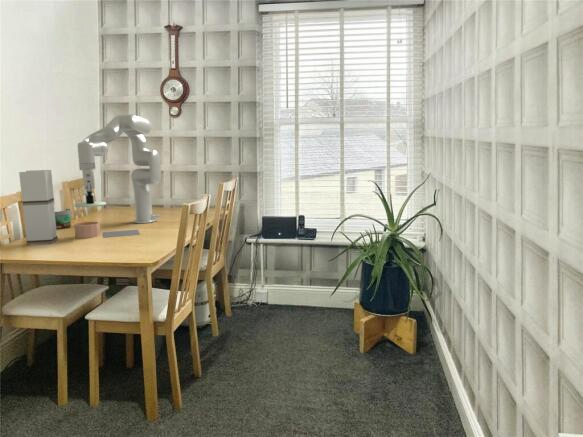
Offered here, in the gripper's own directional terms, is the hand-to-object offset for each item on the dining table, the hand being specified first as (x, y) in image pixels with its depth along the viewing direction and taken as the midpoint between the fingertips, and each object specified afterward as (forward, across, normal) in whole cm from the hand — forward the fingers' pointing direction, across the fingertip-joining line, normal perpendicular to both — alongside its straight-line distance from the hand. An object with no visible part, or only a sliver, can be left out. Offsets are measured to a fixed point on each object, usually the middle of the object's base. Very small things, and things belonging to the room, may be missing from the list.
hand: (90, 202), depth 268 cm
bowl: (+18, 0, +2) cm, 18 cm away
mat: (+18, -1, -14) cm, 22 cm away
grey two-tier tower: (+18, -3, +23) cm, 30 cm away
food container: (+18, +37, +14) cm, 43 cm away
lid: (+1, 0, 0) cm, 1 cm away
